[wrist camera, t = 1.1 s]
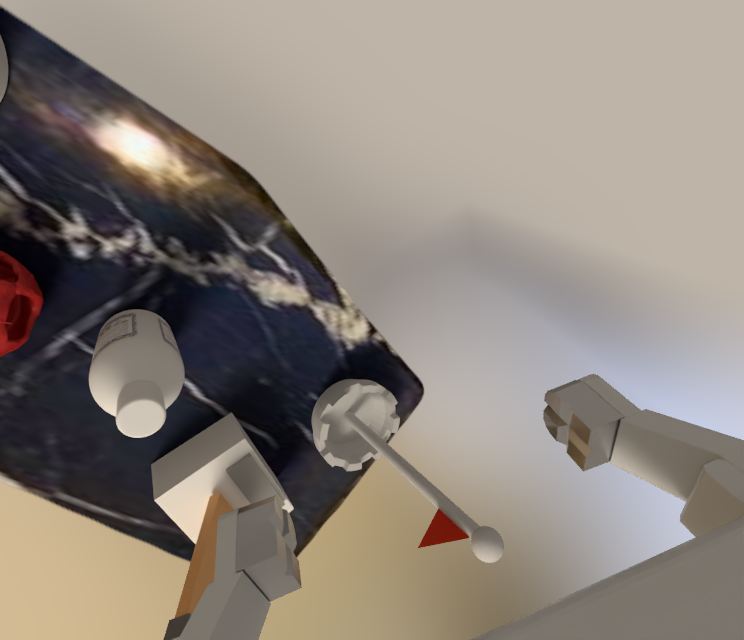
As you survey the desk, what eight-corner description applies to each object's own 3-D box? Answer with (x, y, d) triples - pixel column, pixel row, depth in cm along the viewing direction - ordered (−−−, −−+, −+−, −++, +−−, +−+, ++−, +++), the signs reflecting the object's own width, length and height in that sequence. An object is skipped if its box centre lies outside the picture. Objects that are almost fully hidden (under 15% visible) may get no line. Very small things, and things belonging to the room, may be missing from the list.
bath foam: (89, 362, 41) (61, 463, 24) (110, 300, 40) (96, 359, 24) (161, 374, 44) (180, 469, 28) (180, 317, 44) (211, 379, 28)
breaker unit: (208, 529, 52) (219, 572, 46) (151, 464, 46) (154, 503, 40) (276, 478, 56) (295, 511, 49) (231, 412, 50) (246, 440, 44)
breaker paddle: (235, 530, 46) (205, 677, 33) (206, 496, 43) (162, 643, 30) (249, 524, 46) (224, 670, 33) (221, 490, 43) (183, 635, 30)
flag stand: (374, 360, 60) (546, 462, 35) (386, 429, 64) (546, 564, 40) (296, 392, 54) (436, 543, 29) (314, 466, 59) (450, 651, 34)
